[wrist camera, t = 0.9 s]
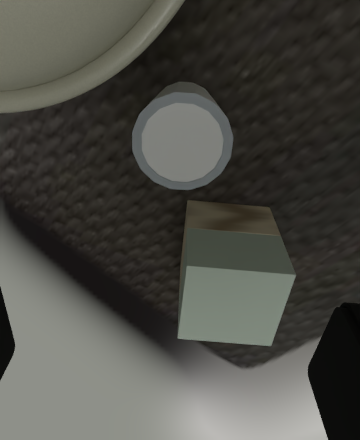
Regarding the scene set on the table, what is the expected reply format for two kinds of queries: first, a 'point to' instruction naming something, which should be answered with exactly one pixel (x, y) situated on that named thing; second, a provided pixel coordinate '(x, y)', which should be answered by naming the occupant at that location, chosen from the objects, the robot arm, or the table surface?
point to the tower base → (228, 219)
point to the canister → (71, 45)
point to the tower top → (233, 286)
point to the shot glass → (182, 137)
